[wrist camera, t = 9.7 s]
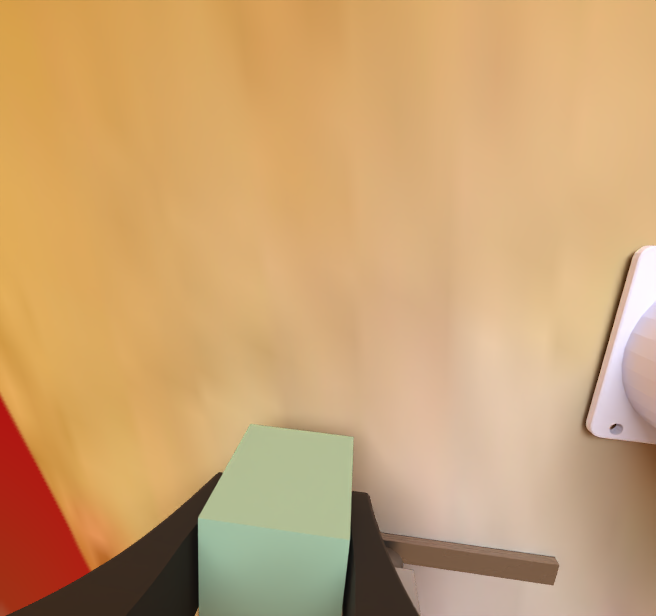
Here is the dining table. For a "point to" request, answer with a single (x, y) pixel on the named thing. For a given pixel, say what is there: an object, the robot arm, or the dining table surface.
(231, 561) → the green block
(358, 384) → the dining table surface
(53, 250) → the dining table surface
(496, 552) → the rails
